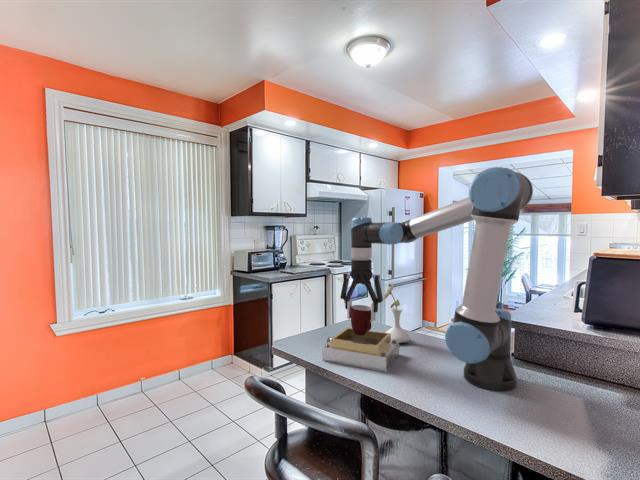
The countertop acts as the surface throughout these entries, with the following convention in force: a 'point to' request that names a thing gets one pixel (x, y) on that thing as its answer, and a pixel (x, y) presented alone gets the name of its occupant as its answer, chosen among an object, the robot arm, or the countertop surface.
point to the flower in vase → (396, 321)
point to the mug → (360, 319)
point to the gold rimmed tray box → (362, 350)
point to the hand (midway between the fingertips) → (361, 319)
